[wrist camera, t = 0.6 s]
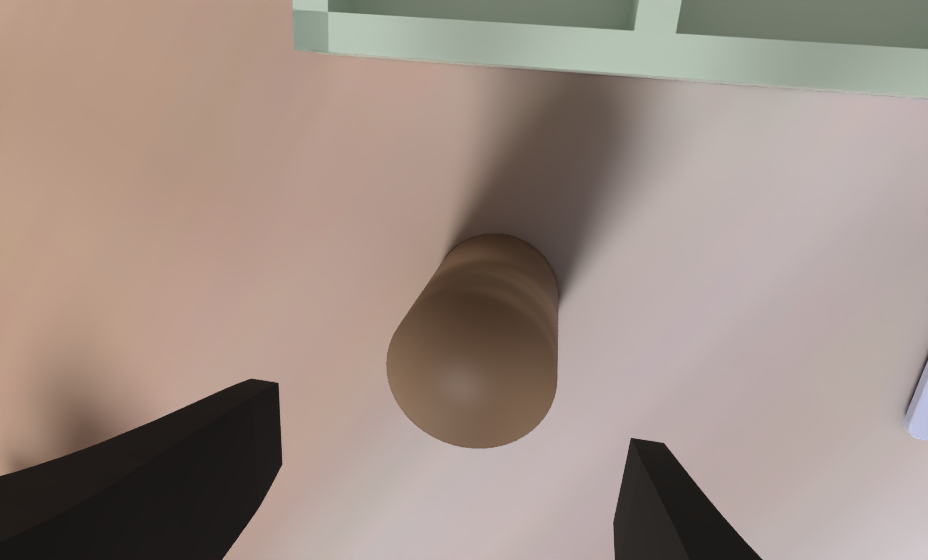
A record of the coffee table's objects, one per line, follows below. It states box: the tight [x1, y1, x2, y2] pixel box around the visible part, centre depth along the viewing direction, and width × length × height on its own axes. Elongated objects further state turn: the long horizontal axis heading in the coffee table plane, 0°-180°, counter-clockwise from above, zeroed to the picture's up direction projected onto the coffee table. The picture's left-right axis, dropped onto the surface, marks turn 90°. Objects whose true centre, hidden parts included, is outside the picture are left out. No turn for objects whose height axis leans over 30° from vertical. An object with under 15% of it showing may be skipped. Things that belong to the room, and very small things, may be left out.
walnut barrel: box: [386, 233, 558, 448], centre depth 17 cm, size 4×4×6 cm
